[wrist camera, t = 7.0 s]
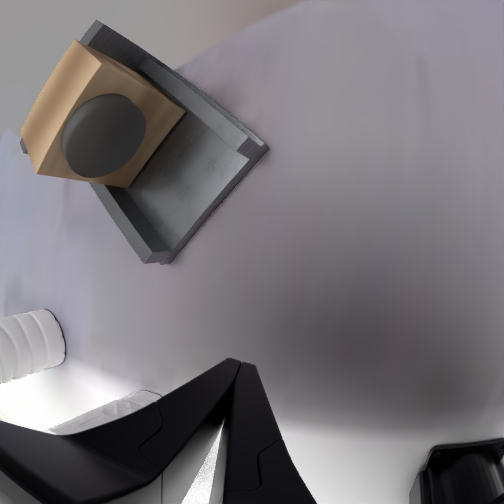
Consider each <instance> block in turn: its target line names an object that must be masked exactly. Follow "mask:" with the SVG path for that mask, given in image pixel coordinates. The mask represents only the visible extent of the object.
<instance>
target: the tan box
mask: <svg viewBox="0 0 504 504" xmlns="http://www.w3.org/2000/svg"><path fill="white" fill-rule="evenodd" d="M185 112H186V111H185V110H184V109H183V108H182V107H181V106H180V105H178V104H177V103H176V102H175V101H174V100H173V99H171V98H170V97H169V96H168V95H167V94H166V93H164V92H163V91H162V90H161V89H160V88H158V87H157V86H156V85H155V84H154V83H152V82H151V81H150V80H148V79H146V78H145V77H143V76H141V75H140V74H138V73H136V72H134V71H133V70H131V69H129V68H127V67H126V66H124V65H122V64H120V63H119V62H117V61H115V60H113V59H111V58H110V57H108V56H106V55H104V54H102V53H100V52H99V51H97V50H95V49H93V48H91V47H89V46H87V45H85V44H83V43H81V42H79V41H77V40H74V42H73V43H72V45H71V46H70V48H69V49H68V50H67V52H66V53H65V55H64V56H63V57H62V59H61V61H60V62H59V64H58V65H57V67H56V68H55V70H54V71H53V73H52V74H51V76H50V78H49V79H48V81H47V83H46V84H45V86H44V88H43V89H42V91H41V93H40V95H39V96H38V98H37V100H36V102H35V104H34V106H33V107H32V109H31V111H30V114H29V115H28V117H27V119H26V121H25V123H24V125H23V127H22V129H21V135H22V138H23V141H24V143H25V146H26V149H27V151H28V154H29V157H30V159H31V162H32V164H33V167H34V169H35V172H36V174H41V175H48V176H54V177H61V178H68V179H74V180H81V181H87V182H93V183H99V184H105V185H111V186H117V187H123V188H128V187H129V186H130V184H131V183H132V181H133V180H134V178H135V177H136V176H137V174H138V173H139V171H140V170H141V169H142V167H143V166H144V164H145V163H146V162H147V160H148V159H149V158H150V156H151V155H152V154H153V152H154V151H155V150H156V148H157V147H158V146H159V144H160V143H161V142H162V140H163V139H164V138H165V136H166V135H167V134H168V133H169V131H170V130H171V129H172V128H173V126H174V125H175V124H176V123H177V121H178V120H179V119H180V118H181V117H182V115H183V114H184V113H185Z"/></svg>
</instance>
